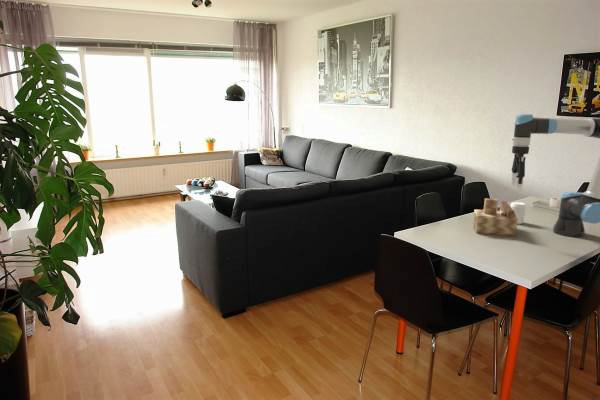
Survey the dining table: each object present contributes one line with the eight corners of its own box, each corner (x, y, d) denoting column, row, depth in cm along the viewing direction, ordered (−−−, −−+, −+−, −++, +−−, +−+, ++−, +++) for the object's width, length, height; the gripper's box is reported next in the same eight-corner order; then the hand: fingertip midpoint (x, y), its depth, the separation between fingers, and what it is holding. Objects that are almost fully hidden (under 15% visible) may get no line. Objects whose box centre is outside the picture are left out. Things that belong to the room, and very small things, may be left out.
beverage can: (509, 223, 263) (511, 204, 261) (508, 220, 271) (510, 201, 268) (524, 225, 261) (526, 205, 258) (522, 221, 268) (525, 202, 265)
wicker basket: (508, 226, 258) (510, 207, 255) (515, 236, 239) (517, 215, 236) (471, 223, 263) (473, 204, 260) (476, 233, 244) (478, 213, 241)
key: (505, 208, 257) (506, 201, 256) (513, 218, 235) (514, 211, 234) (499, 207, 258) (500, 201, 257) (507, 218, 236) (508, 210, 235)
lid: (512, 213, 250) (514, 198, 248) (518, 220, 237) (520, 203, 234) (474, 211, 255) (475, 195, 253) (477, 217, 242) (478, 201, 240)
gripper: (508, 143, 233) (504, 183, 238) (517, 148, 210) (512, 192, 215) (524, 143, 231) (519, 183, 236) (535, 148, 208) (529, 193, 213)
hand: (516, 187), depth 225 cm, fingers open, 12 cm apart
